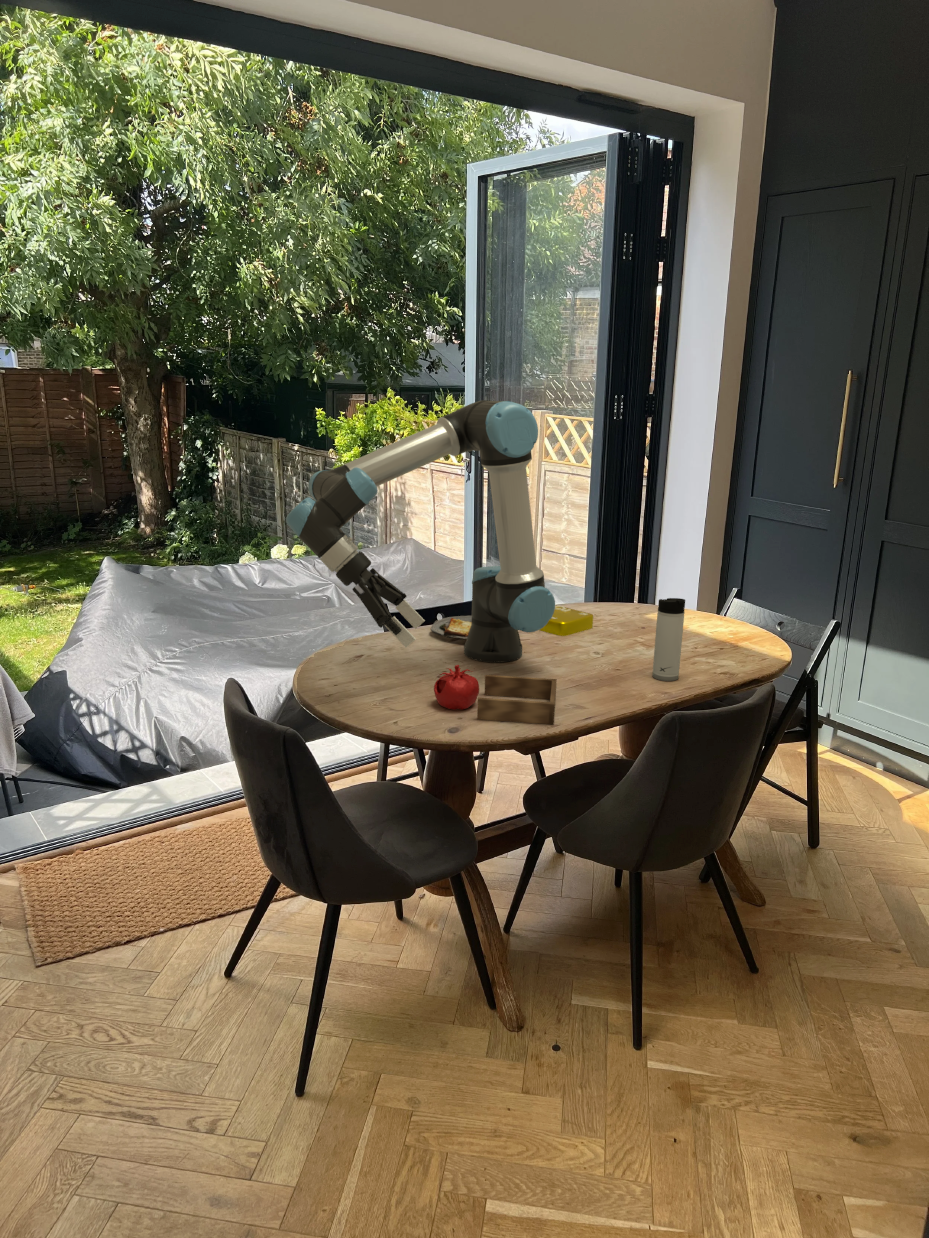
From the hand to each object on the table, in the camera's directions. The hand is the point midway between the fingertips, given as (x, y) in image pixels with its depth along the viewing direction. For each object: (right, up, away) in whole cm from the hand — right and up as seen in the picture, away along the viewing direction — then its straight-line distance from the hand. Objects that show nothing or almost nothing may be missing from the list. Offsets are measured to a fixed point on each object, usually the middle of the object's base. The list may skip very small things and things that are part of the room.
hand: (415, 633), depth 190 cm
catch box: (+22, -16, +2) cm, 27 cm away
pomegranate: (+9, -16, +4) cm, 18 cm away
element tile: (+38, 0, +67) cm, 77 cm away
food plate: (+13, -1, +59) cm, 60 cm away
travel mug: (+59, -11, +25) cm, 65 cm away
